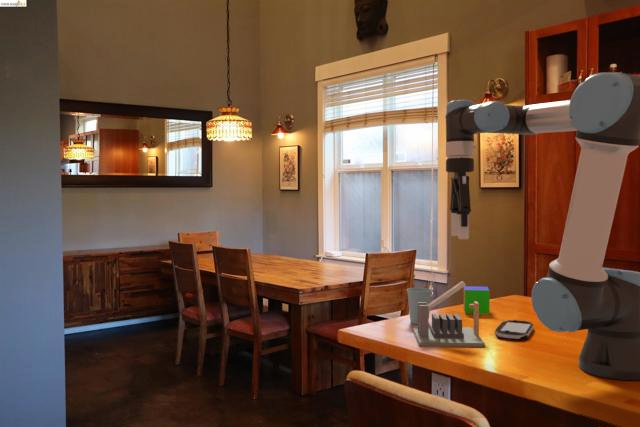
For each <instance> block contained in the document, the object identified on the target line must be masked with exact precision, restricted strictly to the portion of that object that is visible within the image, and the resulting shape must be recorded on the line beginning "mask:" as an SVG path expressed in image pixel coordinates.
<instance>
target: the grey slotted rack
mask: <svg viewBox="0 0 640 427" xmlns="http://www.w3.org/2000/svg"><path fill="white" fill-rule="evenodd" d="M469 308H474V314H473V328H472V327H469V326H466V327H465V326H463V319H462V317H461V316H460V315H459V314H458V313H453V314H451V313H445V314H444V313H439V314H438V315H437V313H431V326H429V323H430V321H429V319H430V313H429V306H428V305H427V303H426V302H418V324H417V326H412V331H413V335H414V337H415V338H416V339H415V340H416V341H417V345H418V346H419V347H445V348H446V347H451V348H452V347H453V348H455V347H459V348H461V347H462V348H463V347H465V348H485V346H486V344H485V342H484V340H483V339H482V338H481V337H480V329H479V328H480V324H479V323H480V314H479V303H478V302H477V301H474V304H469Z"/></svg>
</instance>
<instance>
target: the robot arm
mask: <svg viewBox="0 0 640 427" xmlns="http://www.w3.org/2000/svg"><path fill="white" fill-rule="evenodd" d="M445 106H446V109H445V110H446V112H445V113H446V114H445V117H444V118H445V157H446V158H447V159H445V171H446V173H453V177H451V191H450V205H449V211H450V212H451V213H450V214H451V215H450V218H451V220H450V221H451V223H450V224H451V227H450V229H451V230H450V233H451V235H450V236H451V237H457V238H458V240H470V214H471V212H472V209H471V195H470V194H471V193H470V176H469V175H467V173H472V172H474V171H475V160H474V158H472V157H474V155H475V153H474V152H475V149H476V148H477V145H474V142H475V135H477V134H504V135H505V134H506V135H509V134H512V135H523V136H533V135H539V134H545V133H562V132H576V135H575V141H576V142H577V143H578V144H579V146H580V149H581V150H580V153H579V158H578V163H577V168H576V173H575V177H574V183H573V188H572V191H571V197H570V201H569V206H568V212H567V215H566V221H565V226H564V231H563V235H562V239H561V240H562V241H561V245H560V250H559V254H558V257H557V258H556V259H554V260H552V261H551V262H550V263H548V264H549V266H548V270H547V275H546V277H542V278H540V279H538V281H536V282H535V283H534V285H533V287H532V289H531V305H532V308H533V311H534V312H535V314H536V317H537V319H538V320H539V322H540V323H542V325H543V326H544V327H546V328H547V329H549V330H551V331H554V332H557V333H565V332H566V333H575V332H577V331H583V330H587V333H586V336H585V337H586V338H585V339H584V342H583V344H582V348H581V351H580V353H579V355H578V367H579V368H580V370H582V371H584V372H586V373H588V374H589V375H590V374H591V375H594V376H597V377H600V378H601V377H602V378H606V379H613V380H618V381H619V380H620V381H640V272H639V271H636V270H635V271H634V270H625V269H619V268H612V267H611V268H609V267H603V265H604V260H605V256H606V253H607V252H606V251H607V247H608V243H609V239H610V234H611V229H612V226H613V222H614V217H615V214H616V208H617V205H618V200H619V195H620V191H621V187H622V183H623V178H624V174H625V169H626V166H627V161H628V156H629V154H630V153H631V152H633V151H635V150H636V149H638V148H639V146H640V75H638V74H631V73H623V72H617V71H616V72H598V73H595V74H592V75H590V76H589V77H587V78H585V80H583V81H582V82H581V83H579V85H578V86H577V87H576V88H575V89H574V91H573V92H572V95H571V98H570V99H566V100H560V101H558V100H557V101H552V102H543V103H536V104H535V103H534V104H528V105H527V104H526V105H512V104H504V103H503V102H502V101H497V100H494V101H485V102H483V103H479V104H475V103H474V101H472V100H470V99H469V100H468V99H458V100H457V99H456V100H451V101H449V102H448V103H447V104H446V105H445Z"/></svg>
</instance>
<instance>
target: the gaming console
mask: <svg viewBox="0 0 640 427" xmlns="http://www.w3.org/2000/svg"><path fill="white" fill-rule="evenodd" d="M533 330H534V323H532V322H531V321H526V320H517V319H514V320H513V319H511V320H510V319H507V320H504V321H502V322H501V323H500V324H499V325H498V326H497V327H496V328H495V330H494V334H495V336H496V337H497V338H498V339H501V340H505V339H506V341H507V340H508V341H516V340H518V341H519V340H520V341H524V339H525V340H526V339H528V337H529V336H530V335H531V333H532V331H533Z"/></svg>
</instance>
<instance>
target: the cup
mask: <svg viewBox="0 0 640 427" xmlns="http://www.w3.org/2000/svg"><path fill="white" fill-rule="evenodd" d="M406 294H407V302H408V311H409V313H408V314H409V320H410V323H411V324H413V325H418V302H426V303H427V305H428V304H429V303H431V302H432V294H433V290H432V288H427V287H409V288H407V289H406ZM430 310H431V309H430ZM430 310H429V314H430V312H431V311H430Z"/></svg>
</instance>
